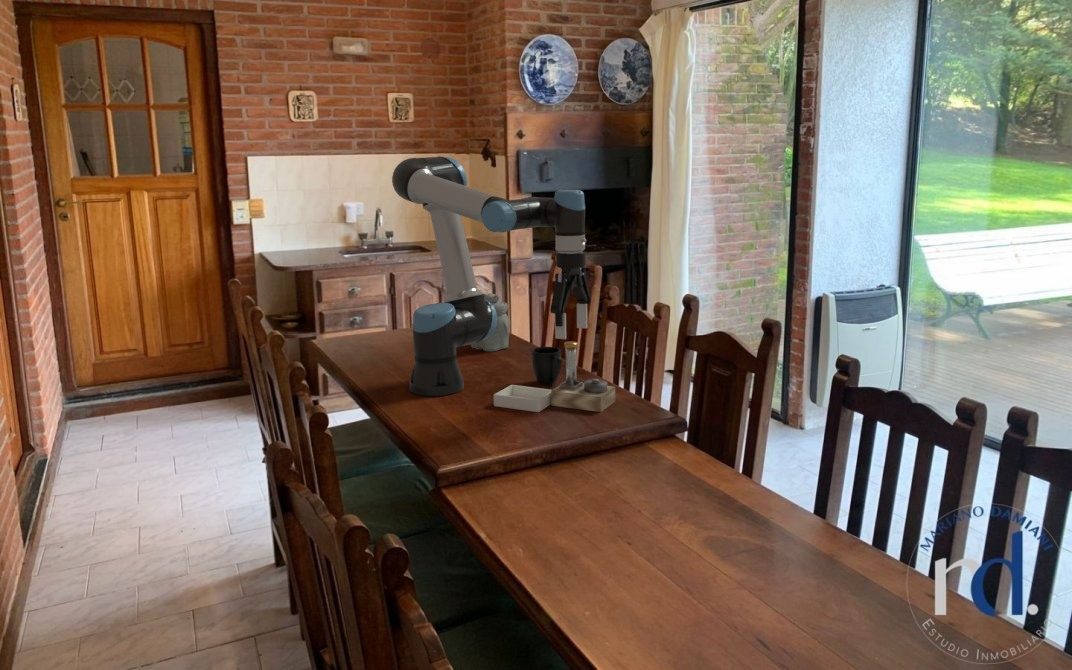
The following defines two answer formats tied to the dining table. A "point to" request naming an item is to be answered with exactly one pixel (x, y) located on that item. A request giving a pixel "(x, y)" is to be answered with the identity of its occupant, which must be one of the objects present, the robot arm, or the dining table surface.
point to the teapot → (501, 332)
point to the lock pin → (571, 362)
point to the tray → (523, 398)
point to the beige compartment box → (584, 395)
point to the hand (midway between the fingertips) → (571, 333)
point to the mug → (546, 364)
